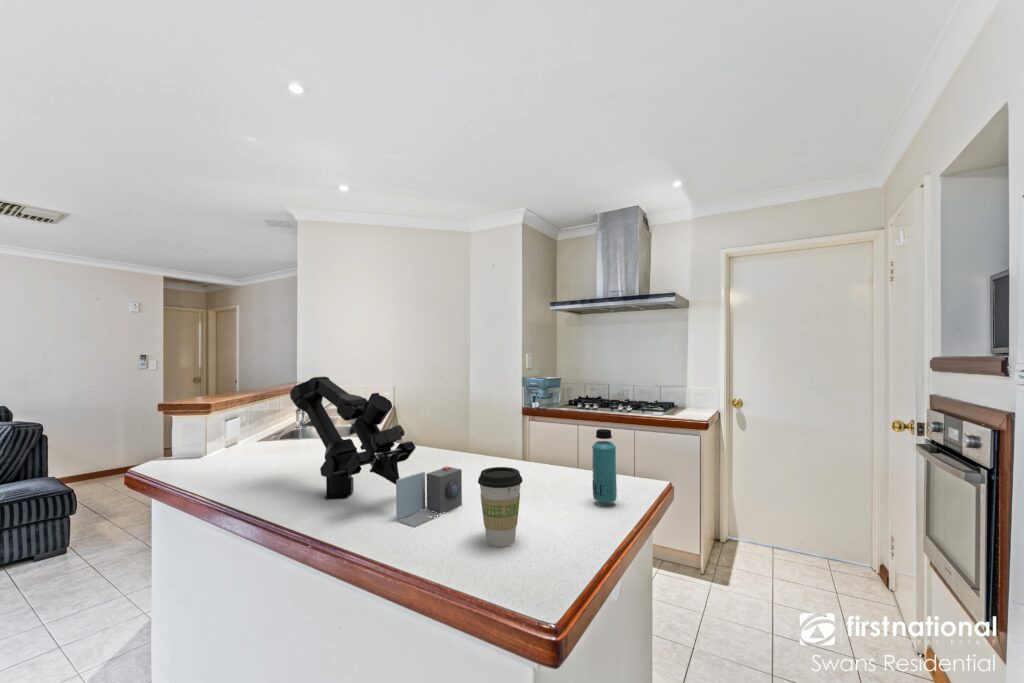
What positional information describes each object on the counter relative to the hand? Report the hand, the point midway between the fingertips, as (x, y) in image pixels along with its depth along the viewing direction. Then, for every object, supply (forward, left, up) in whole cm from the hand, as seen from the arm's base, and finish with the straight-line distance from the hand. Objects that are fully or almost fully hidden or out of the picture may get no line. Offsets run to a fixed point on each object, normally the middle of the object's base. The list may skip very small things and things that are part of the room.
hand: (397, 483), depth 115 cm
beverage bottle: (+54, +2, -8) cm, 55 cm away
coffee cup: (+25, -18, -8) cm, 32 cm away
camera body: (+9, -1, -8) cm, 12 cm away
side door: (+4, -2, -7) cm, 8 cm away
